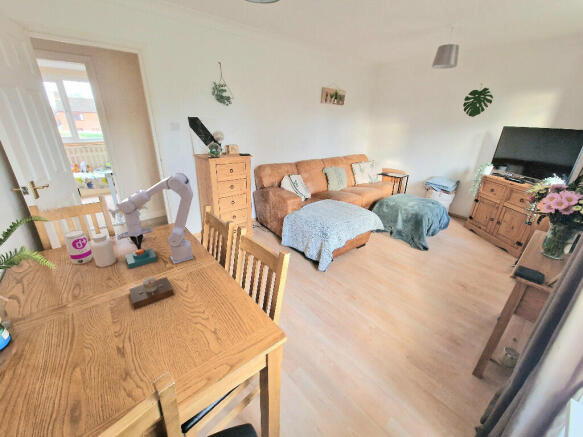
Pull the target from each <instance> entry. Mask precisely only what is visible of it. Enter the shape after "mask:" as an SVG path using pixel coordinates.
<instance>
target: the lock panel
mask: <svg viewBox="0 0 583 437" xmlns="http://www.w3.org/2000/svg"><path fill="white" fill-rule="evenodd" d="M156 284H157V289H156V290H155V291H153V292H149V293H148V292H145V289H144V285H143V284H140V285H137V286H135V287H132V288H129V289H128V290H129V295H130V299H131V302H132V306H133V310H137V309H140V308H143V307H145V306H148V305H150V304H153V303H156V302H158V301H159V302H160V301H161V300H164V299H167V298H169V297H172V296H174V295H175V293H174V288H173V286H172V285H171V282H170V280H169V278H168V276H166V277H162V278H159V279H156Z"/></svg>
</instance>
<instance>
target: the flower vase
mask: <svg viewBox="0 0 583 437" xmlns="http://www.w3.org/2000/svg"><path fill="white" fill-rule="evenodd" d="M119 205H120V203H116V204H115V206H116V209H115V210H114V209H111V208H110V207H108V206H106V208H107V211H108V212H109V213H110V214H111V216H112V218H113V219H114V220H116V214H119V217H120V218H122V217H124V214H123V212H122V211H121V210H120V209H119ZM146 205H147V203H145V204H143V205H142V206H140V207H138V208H137V209H138V214H139V217H141V212H140V211H141V210H144V209H145V210H148V207H147V206H146ZM146 235H147V233H146V234H143V240H142V242H143V241H144V239H145V238H146ZM136 238H137V236H136ZM126 239H127V240H128V241H129V242H131V243H133V241H131V239H130V237H127V238H126ZM137 242H138V240H137ZM133 244H134V243H133Z"/></svg>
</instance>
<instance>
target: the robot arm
mask: <svg viewBox="0 0 583 437" xmlns="http://www.w3.org/2000/svg"><path fill="white" fill-rule="evenodd" d="M163 190H168V191H169V190H171V191H173V192H174V193H176V194H177V195H178V196H179V197H180V200H179V205H178V208H177V212H176V215H175V216H176V217H175V221H174V225H173V228H172V230H171V233H170V235H169V236H168V238H167V243H168V245H169V247H170V252H171V256H169V258H170V260H171V261H172V263H173V264H174V265H176V264H179V263H183V262H187V261H189V260H193V259H194V254H193V247H192V243H191V241H190V240H189V239H188V240H187V239H186V238H185V237H186V235H187V234H186V233H187V232H186V224H187V220H188V217H189V213H190V209H191V205H192V202H193V197H194V192H193V191H194V190H193V189H192V186H191V181H190V179H189V178H188V176H187V175H186V174H185V173H184V172H177V173H175V174H172V175H170V176H167V177H165V178H164V179H162V180H160V181H159V182H157V183H156V184H154V185H153V186H151V187H150V188H148V189H147V190H146V189H138V190H136V191H135V193H134V194H132V195H129V196H127V197H126V199H124V200H122V201H121V202H120V203H119V204H120V205H119V208H118V209H120V210H121V211H122V212H123V217H124V218H123V219H124V223H125V225H126V231H125V232H122V233H119V234H116V237H117V240H118V241H121V240H122V239H127V237H130V239H131V241H133V244H134V245H135V246H136V248H137V249H138V250H139V249H141V248H142V243H143V241H144V240H143V234H146V235H147V234H153V233H154V229H153V227H146V228H142V224H141V223H142V222H141V219H140V216H139V214H138V209H137V208H138V207H140V206H142V205H143V204H145V203H146V204H147V203H148V202H150V201H151V200H152V196H154V195H156V194H158V193H159V192H161V191H163ZM136 236H137V238H136ZM137 240H138V242H137ZM142 240H143V241H142ZM131 241H130V242H131ZM137 249H136V250H137Z"/></svg>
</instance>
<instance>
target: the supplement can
mask: <svg viewBox="0 0 583 437" xmlns="http://www.w3.org/2000/svg"><path fill="white" fill-rule="evenodd" d="M62 239H63V242H64V245H65V247H66V251H67V253H68V256H69V259H70V261H71V263H72V264H74V265H82V264H86V263H88V262H90V261H91V260H93V259H94V256H93V253H92V249H91V246H90V242H89V239H88V236H87V233H86V232H85V231H84V230H82V229H75V230H71V231H67V232H66V233H64V234H63V237H62Z"/></svg>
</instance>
